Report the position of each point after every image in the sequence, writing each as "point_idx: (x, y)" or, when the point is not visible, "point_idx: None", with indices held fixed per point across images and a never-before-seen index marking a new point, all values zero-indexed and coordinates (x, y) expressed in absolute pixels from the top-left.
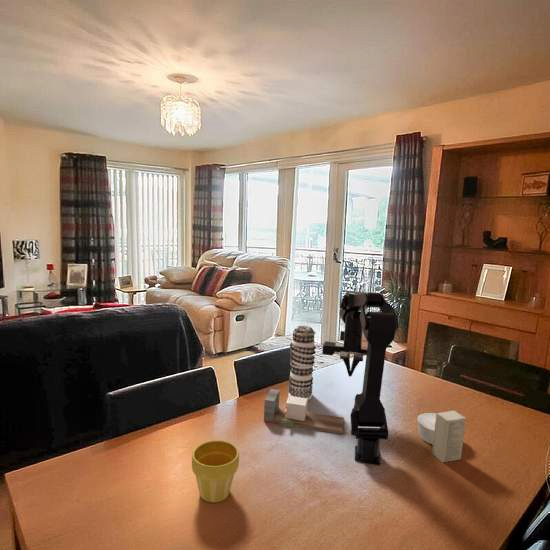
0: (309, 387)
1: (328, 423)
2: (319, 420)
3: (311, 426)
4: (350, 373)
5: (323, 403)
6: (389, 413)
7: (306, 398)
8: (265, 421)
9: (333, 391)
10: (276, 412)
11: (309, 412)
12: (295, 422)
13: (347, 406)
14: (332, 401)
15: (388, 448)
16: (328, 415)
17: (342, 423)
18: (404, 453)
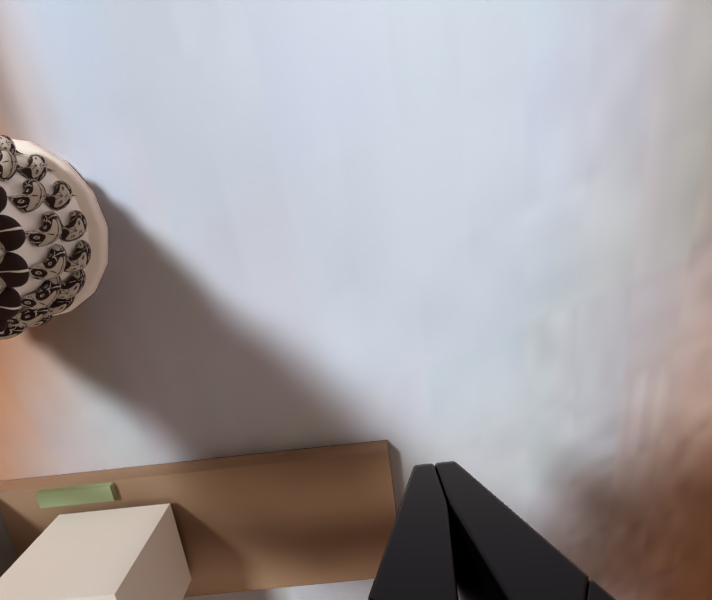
0: (29, 266)
1: (317, 542)
2: (262, 531)
3: (241, 587)
4: (457, 579)
5: (216, 282)
6: (677, 230)
7: (107, 598)
8: None
9: (226, 27)
10: (13, 549)
11: (180, 475)
12: None
13: (382, 253)
14: (266, 223)
15: (623, 587)
16: (295, 463)
17: (391, 514)
18: (692, 595)
